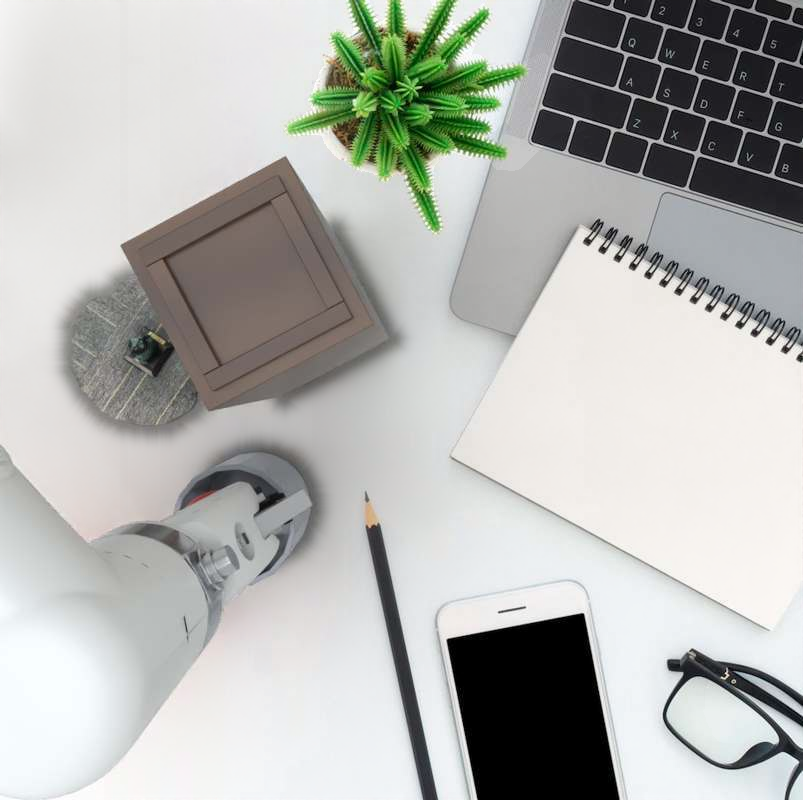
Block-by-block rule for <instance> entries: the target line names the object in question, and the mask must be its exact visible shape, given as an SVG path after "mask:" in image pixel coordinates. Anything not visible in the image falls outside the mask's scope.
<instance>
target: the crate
mask: <svg viewBox="0 0 803 800" xmlns="http://www.w3.org/2000/svg"><path fill="white" fill-rule="evenodd" d="M119 246H120V248H121V250H122V252H123V254H124V255H125V257H126V260H127V261H128V263H129V265H130V267H131V268H132V271H133V272H134V274H135V277H136V278H138V280H139V282H140V284H141V286H142V288H143V289H144V291H145V293H146V295H147V297H148V299H149V301H150V303H151V305H152V306H153V308H154V310H155V312H156V314H157V316H158V318H159V320H160V321H161V323H162V325H163V327H164V329H165V331H166V333H167V335H168V337H169V338H170V340H171V342H172V344H173V346H174V348H175V350H176V352H177V353H178V355H179V357H180V359H181V361H182V363H183V365H184V367H185V369H186V370H187V372H188V374H189V376H190V378H191V380H192V382H193V384H194V385H195V387H196V389H197V391H198V392H197V393H198V395H199V397H200V398H201V400H202V403H203V404H204V407H205V409H206V410H207V412H214V411H218V410H223V409H228V408H232V407H237V406H243V405H246V404H251V403H257V402H262V401H266V400H270V399H274V398H280V397H284V396H286V395H287V394H289V393H291V392H293V391H295V390H297V389H299V388H300V387H303V386H305V385H306V384H308V383H310V382H312V381H314V380H316V379H317V378H320V377H322V376H323V375H325V374H327V373H329V372H331V371H334V369H337V368H338V367H340V366H342V365H344V364H346V363H348V362H350V361H352V360H353V359H355V358H358V357H360V356H361V355H363V354H365V353H367V352H368V351H369V352H370V351H371V350H373V349H375V348H377V347H378V346H380V345H382V344H385V343H386V342H388V341H389V340H390V336H389V335H388V333H387V330H386V329H385V327H384V326H383V324H382V322H381V319H380V317H379V316H378V314H377V312H376V310H375V308H374V306H373V304H372V302H371V301H370V299H369V297H368V295H367V293H366V291H365V289H364V287H363V285H362V283H361V281H360V280H359V278H358V276H357V274H356V272H355V270H354V268H353V266H352V263H351V262H350V260H349V258H348V257H347V254H346V252H345V251H344V249H343V247H342V245H341V243H340V241H339V239H338V237H337V235H336V233H335V232H334V230H333V228H332V227H331V225H330V224H329V222H328V220H327V219H326V217H325V215H324V214H323V212H322V211H321V209H320V208H319V206H318V205H317V203H316V201H315V199H314V198H313V196H312V195H311V193H310V192H309V190H308V189H307V187H306V185H305V184H304V182H303V180H302V179H301V177H300V176H299V175H298V173H297V172H296V170H295V168H294V166H293V164H292V163H291V162H290V159H289V158H288V157H287V156H286V155H285V156H283V157H281V158H279V159H277V160H276V161H274V162H272V163H270V164H268V165H266V166H264V167H262V168H261V169H259V170H257V171H255V172H253V173H251V174H249V175H248V176H246V177H243V178H242V179H240V180H238V181H237V182H234V183H233V184H231V185H229V186H227V187H225V188H223V189H222V190H220V191H217V192H216V193H214V194H212V195H210V196H209V197H207V198H205V199H203V200H201V201H199V202H197V203H196V204H193V205H192V206H190V207H188V208H186V209H184V210H183V211H180V212H179V213H177V214H175V215H173V216H171V217H169V218H168V219H166V220H164V221H162V222H161V223H158V224H156V225H155V226H153V227H151V228H149V229H147V230H145V231H144V232H142V233H140V234H137V235H136V236H134V237H132V238H130V239H129V240H127V241H125V242H123V243H121V244H120V245H119Z"/></svg>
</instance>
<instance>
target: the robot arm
mask: <svg viewBox="0 0 803 800" xmlns="http://www.w3.org/2000/svg"><path fill="white" fill-rule="evenodd" d="M312 506H314V503H313V501H312V500H311V497H310V498H309V496H308V494H307V492H306V490H305V488H304V487H303V488H301V489H298V490H296V491H294V492H291V493H289V494H288V495H286V496H285V494H284V492H283V493H278V492H276V493H274V494H273V495H272V494H270V495H268V496H265V494H264V492H263V490H262V489H261V487H260V486H258V487H256V488H255V489H253V488H252V487H251V485H250V484H249V483H246V482H236V483H234V484H232V485H229V486H227V487H225V488H223V489H221V490H219V491H217V492H215V493H213V494H211V495H209V496H207V497H205V498H203V499H201V500H200V501H198V502H196V503H194V504H192V505H190V506H188V507H186V508H184V509H182V510H180V511H178V512H176V513H175V514H173V513H172V514H171V515H169V516H167V517H165V518H164V519H161V520H159V521H158V520H156V521H155V520H141V521H140V520H139V521H133V522H130V523H126V524H122V525H120V526H117V527H115V528H114V529H112V530H109V531H108V532H107V533H105V534H103V535H101V536H99V537H98V538H95V539H94V540H92V541H90V542H89V543H88V542H87V541H86V540H85V538H83V537H82V536H81V535H80V534H79V533H78V531H77V530H76V529H74V528H73V526H72V525H70V523H69V522H68V521H67V520H66V519H65V518H64V517H63V516H62V515H61V514H60V513H59V512H58V511H57V509H55V507H54V506H53V505H52V504H51V503H50V502H49V501H48V500H47V499H46V498H45V496H44V495H42V494H41V492H40V491H39V490H38V489H37V488H36V487H35V485H33V484H32V482H30V481H29V479H28V478H27V477H26V476H25V475H24V474H23V472H21V470H20V469H19V468H18V467H17V466H16V465H15V464H14V462H13V460H12V458H11V455H10V453H8V451H7V450H6V448H5V447H4V446H3V444H1V443H0V796H3V797H6V798H9V799H16V800H54V799H58V798H62V797H65V796H68V795H71V794H74V793H77V792H79V791H82V790H83V789H85V788H87V787H89V786H91V785H93V784H94V783H96V782H98V781H99V780H101V779H103V778H104V777H105V776H106V775H108V774H109V773H110V772H111V771H112V770H113V769H114V768H115V767H116V766H118V764H119V763H120V762H121V760H123V758H124V757H126V755H127V754H128V753H129V752H130V751H131V749H132V748H133V747H134V745H135V744H136V743H137V742H138V740H139V739H140V737H141V736H142V734H143V733H144V732H145V730H146V729H147V727H148V726H149V725H150V724H151V722H152V721H153V720H154V718H155V717H156V715H157V714H158V713H159V711H160V710H161V708H162V707H163V706H164V705H165V703H166V702H167V700H168V699H169V698H170V696H171V695H172V694H173V692H174V691H175V689H176V688H177V687H178V685H179V684H180V683H181V681H182V680H183V679H184V677H185V676H186V675H187V674H188V672H189V671H190V669H191V668H192V667H193V665H194V664H195V662H196V661H197V660H198V658H199V657H200V655H201V654H202V653H203V652H204V650H205V649H206V647H207V646H208V645H209V644H210V642H211V641H212V639H213V638H214V636H215V634H216V633H217V631H218V629H219V626H220V624H221V621H222V619H223V614H224V609H225V606H227V604H229V603H230V602H231V601H232V600H233V599H234V598H235V597H237V596H238V595H240V594H241V593H242V592H243V590H244V589H245V588H246V587H248V586H247V585H248V584H249V583H250V582H251V581H252V580H254V579H255V578H256V577H257V576H258V575H259V574H260V573H261V572H262V571H263V570H264V568H265V567H266V566H267V565H268V564H269V563H270V562H271V560H272V559H273V558H274V556H275V554H276V552H277V550H278V547H279V539H277V537H276V536H274V535H276V534H277V533H278V532H280V531H281V530H282V528H281V525H282V524H284V525H286V524H288V523H290V522H292V521H293V520H292V518H294V517H295V516H297V515H298V514H300V513H301V512H303V511H305V510H306V509H308V508H309V507H312Z"/></svg>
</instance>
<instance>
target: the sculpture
mask: <svg viewBox="0 0 803 800" xmlns="http://www.w3.org/2000/svg"><path fill="white" fill-rule="evenodd" d="M71 328H72V329H71V354H70V355H71V356H70V357H71V359H70V371H71V372H72V373H73V375H74V377H75V379H76V380H77V381H78V384H79V387H80V389H81V391H82V392H83V394H85V395H86V396H87V397H88V398H89V399H90V400H91V402H92V404H93V405H94V406H95V407H96V408H97V409H99V410H100V412H102V413H104V414H105V415H107V416H108V417H111V418H112V419H114V420H117V421H119V422H123V423H131V424H132V425H142V426H158V425H162V424H163V425H165V424H169V423H171V422H173V421H175V420H176V419H179V418H180V417H181V416H183V415H184V414H185V413H188V412H190V411H191V410H192V409H193V408H194V405H195V404H196V403H197V398H196V395H197V393H198V391H197V389H196V387H195V385H194V384H193V382H192V380H191V378H190V376H189V374H188V372H187V370H186V369H185V367H184V365H183V363H182V361H181V359H180V357H179V355H178V353H177V352H176V350H175V348H174V346H173V344H172V342H171V340H170V338H169V337H168V335H167V333H166V331H165V329H164V327H163V325H162V323H161V321H160V320H159V318H158V316H157V314H156V312H155V310H154V308H153V306H152V305H151V303H150V301H149V299H148V297H147V295H146V293H145V291H144V289H143V288H142V286H141V284H140V282H139V280H138V278H137V277H133V278H130V279H125V280H123V281H122V282H121V283H120V284H118V286H117V287H116V288H115V290H113V292H112V293H111V294H110V296H109V297H107V298H103V297H95V298H93V299H92V300H91V301H89V302H88V303H87V304H86V306H85V307H84V308H83V309H82V311H81V312H80V314H79V316H77V317H76V320H75V323H73V325H72V327H71Z"/></svg>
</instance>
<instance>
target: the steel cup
mask: <svg viewBox="0 0 803 800" xmlns="http://www.w3.org/2000/svg"><path fill="white" fill-rule="evenodd" d="M236 482H246V483H249V484H250V485H251V487H252V488H253V489H255V488H256V487H258V486H260V487H261V489H262V490H263V492H264V494H265V496H268V495H270V494H272V495H273V494H274V493H276V492H278V493H283V492H284V494H285V496H286V495H288V494H289V493H291V492H294V491H296V490H298V489H301V488H303V487H304V488H305V490H306V492H307V494H308V496H309V498H310V499H311V496H310V491H309V488H308V486H307V483H306V480H304V478H303V476H302V475H301V473H300V472H299V471H298V470H297V469H296V467H294V465H292V464H291V463H290V462H289V461H287V460H285V459H284V458H282V457H280V456H277V455H275V454H272V453H268V452H263V451H259V452H258V451H255V452H246V453H239V454H237V455H235V456H233V457H231V458H229V459H227V460H225V461H222V462H221V463H219V464H217V465H215V466H212V467H211V468H209V469H207V470H205V471H202V472H201V473H199V474H198V475H195V476H194V477H193V478H192V479H191V480H190V482H189V483H187V485H186V486H185V487H184V489H183V490H182V491H181V492H180V494H179V495H178V497H177V500H176V503H175V507H174V509H173V513H172V515H173V514H175V513H176V512H178V511H180V510H182V509H184V508H185V507H186V506H187V505H188V504H189V503H190V502H191V501H192V500H194V499H195V498H196V497H198V496H200V495H202V494H204V493H207V492H210V491H214V490H221V489H223V488H225V487H227V486H229V485H232V484H234V483H236ZM311 507H312V506H311ZM311 507H309V508H308V509H306V510H305V511H303V512H301V513H300V514H298V515H297V516H295V517H294V518H292V520H293V521H292V522H290V523H288V524H286V525H284V524H282V525H281V528H282V530H281V531H280V532H278V533H277V534H276V535H274V536H276V537H277V539H279V547H278V550H277V552H276V554H275V556H274V558H273V559H272V560H271V562H270V563H269V564H268V565H267V566H266V567H265V568H264V570H263V571H262V572H261V573H260V574H259V575H258V576H257V577H256V578H255V579H254V580H252V581H251V582H250V583H249V584H248V585H247V586H246V587H248V586H253V585H256V584H257V583H259V582H261V581H263V580H266V579H267V578H270V577H271V576H272V575H274V574H275V573H276V571H278V569H280V567H281V565H282V564H283V563H284V562H285V561H286V560H287V558H288V557H289V556H290V554H291V553H292V551H293V550H294V548H295V547H296V546H297V544H298V543H299V541H300V540H301V538H302V537H303V536H304V534H305V532H306V530H307V526H308V523H309V522H310V521H309V520H310V517H311V510H312V509H311Z"/></svg>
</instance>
